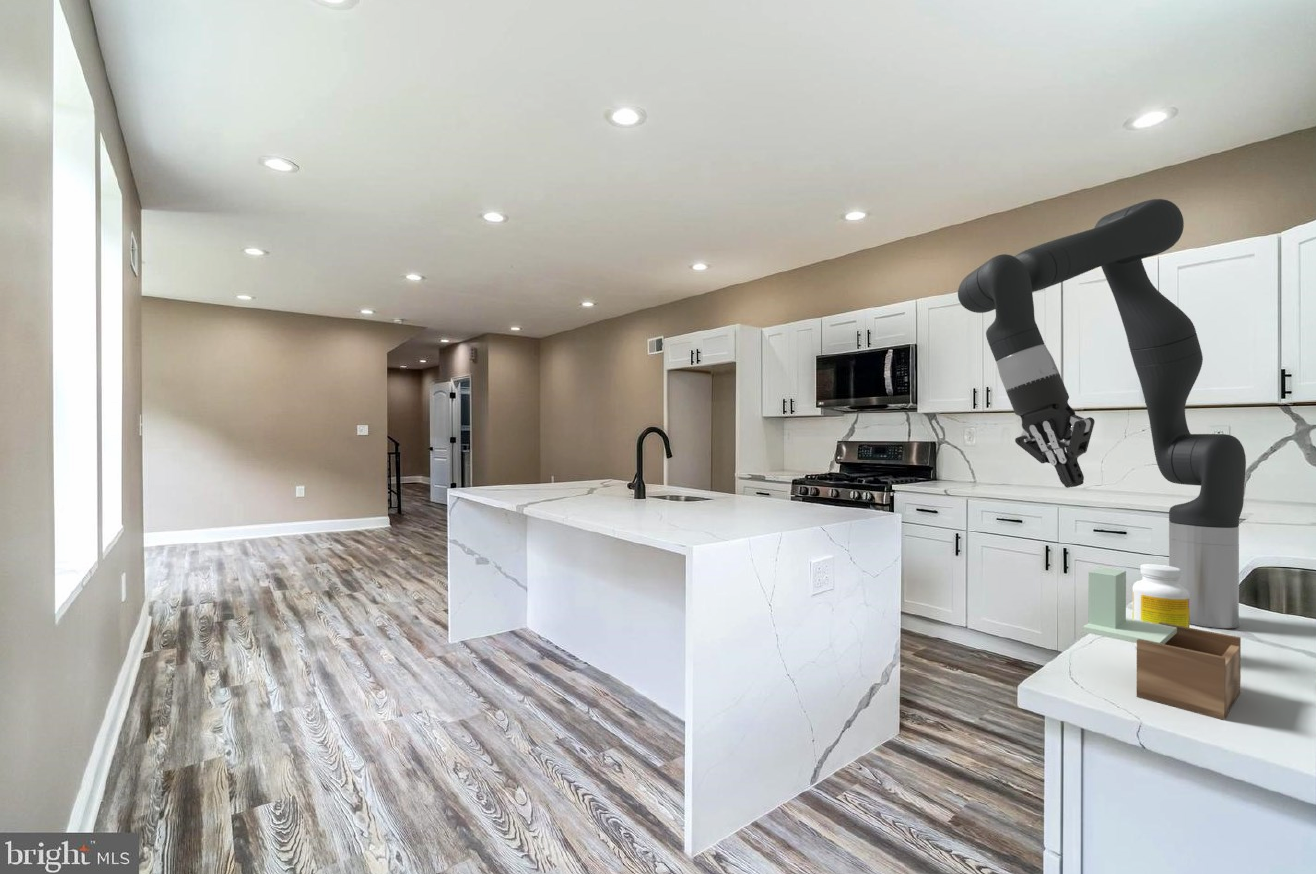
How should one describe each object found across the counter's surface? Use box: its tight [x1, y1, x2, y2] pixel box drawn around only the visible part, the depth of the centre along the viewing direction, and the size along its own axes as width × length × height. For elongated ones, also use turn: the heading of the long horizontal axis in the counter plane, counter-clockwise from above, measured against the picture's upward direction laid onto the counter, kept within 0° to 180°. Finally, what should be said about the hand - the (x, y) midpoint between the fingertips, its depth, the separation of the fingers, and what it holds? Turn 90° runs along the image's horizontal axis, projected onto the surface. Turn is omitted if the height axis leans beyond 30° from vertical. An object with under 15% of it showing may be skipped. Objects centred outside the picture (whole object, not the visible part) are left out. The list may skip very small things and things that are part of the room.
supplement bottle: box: [1132, 563, 1190, 649], centre depth 91 cm, size 7×7×13 cm
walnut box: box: [1136, 622, 1242, 721], centre depth 76 cm, size 12×8×7 cm, turn 129°
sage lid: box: [1082, 566, 1177, 644], centre depth 80 cm, size 10×8×8 cm
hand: (1074, 485), depth 92 cm, fingers closed
